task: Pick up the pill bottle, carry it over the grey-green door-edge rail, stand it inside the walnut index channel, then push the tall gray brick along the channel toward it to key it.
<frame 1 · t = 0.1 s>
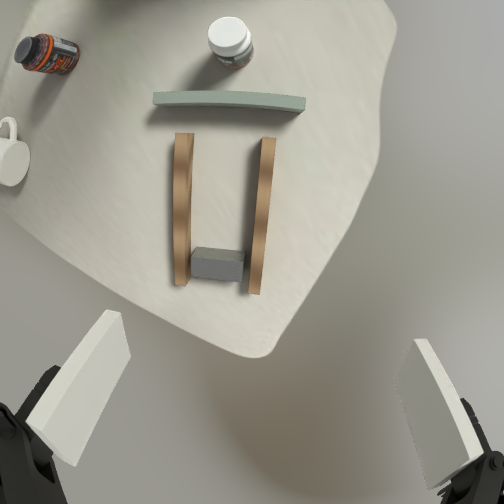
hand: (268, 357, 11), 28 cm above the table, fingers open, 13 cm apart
door edge rail: (230, 101, 32), on the table
index channel: (222, 211, 38), on the table
supplement bottle: (68, 59, 29), on the table
pill bottle: (235, 53, 29), on the table
mug: (18, 146, 35), on the table
tall gray brick: (218, 263, 39), point 2 cm above the table, slide at 0.0 cm
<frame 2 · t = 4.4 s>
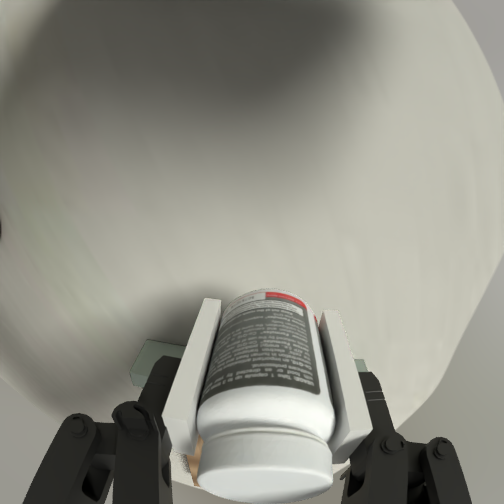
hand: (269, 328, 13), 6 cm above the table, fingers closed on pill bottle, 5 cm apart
door edge rail: (255, 362, 21), on the table
index channel: (243, 446, 27), on the table
pill bottle: (269, 324, 14), point 5 cm above the table, touching gripper
when the fingers open (0 cm above the table, at t = 9.5 s): pill bottle stays where it is, on the table.
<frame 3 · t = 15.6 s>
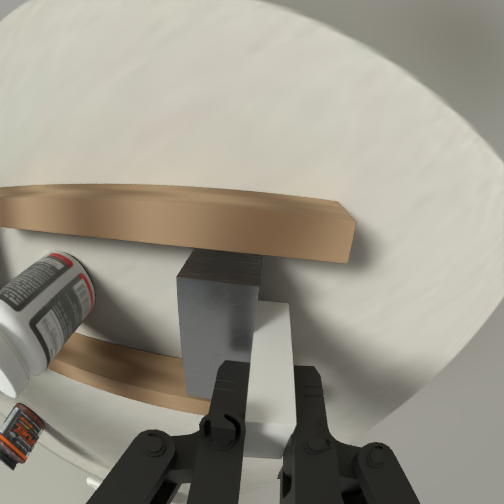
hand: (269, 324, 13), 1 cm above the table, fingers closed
index channel: (125, 292, 15), on the table
supplement bottle: (31, 413, 27), on the table
pill bottle: (70, 282, 15), on the table
tall gray brick: (221, 327, 13), point 2 cm above the table, slide at 1.1 cm, touching gripper
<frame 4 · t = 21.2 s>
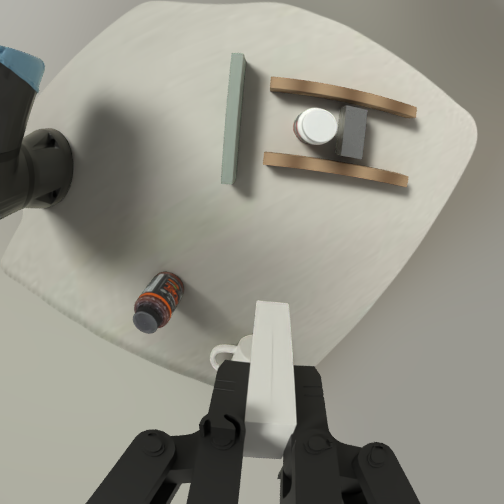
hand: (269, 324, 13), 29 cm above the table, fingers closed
door edge rail: (235, 118, 36), on the table
index channel: (340, 131, 36), on the table
supplement bottle: (169, 284, 48), on the table
pill bottle: (309, 127, 36), on the table
mug: (243, 349, 52), on the table
tall gray brick: (351, 132, 34), point 2 cm above the table, slide at 5.9 cm
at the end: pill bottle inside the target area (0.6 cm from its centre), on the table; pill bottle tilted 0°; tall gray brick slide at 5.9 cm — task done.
